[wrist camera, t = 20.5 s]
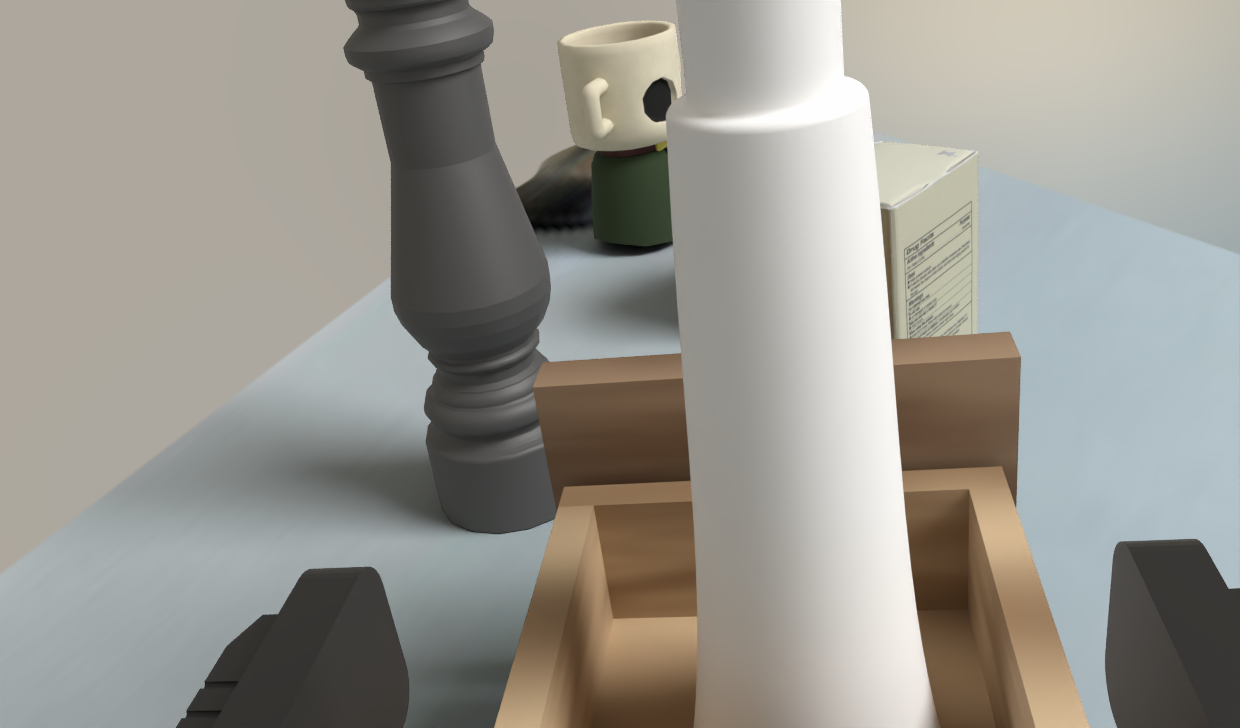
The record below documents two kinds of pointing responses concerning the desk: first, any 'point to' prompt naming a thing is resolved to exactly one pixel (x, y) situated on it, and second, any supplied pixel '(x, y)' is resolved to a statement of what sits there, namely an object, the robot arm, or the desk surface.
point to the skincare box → (929, 238)
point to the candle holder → (460, 259)
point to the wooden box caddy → (665, 548)
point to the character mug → (624, 123)
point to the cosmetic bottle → (789, 379)
